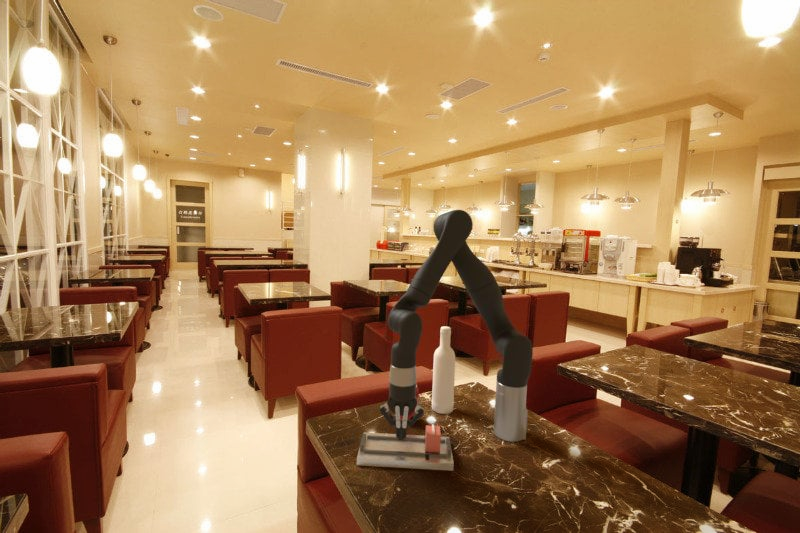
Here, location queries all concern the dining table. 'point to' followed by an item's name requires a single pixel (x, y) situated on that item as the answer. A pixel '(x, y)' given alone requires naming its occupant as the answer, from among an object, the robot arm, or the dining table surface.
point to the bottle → (443, 374)
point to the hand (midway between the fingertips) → (400, 438)
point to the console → (403, 452)
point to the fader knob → (432, 438)
